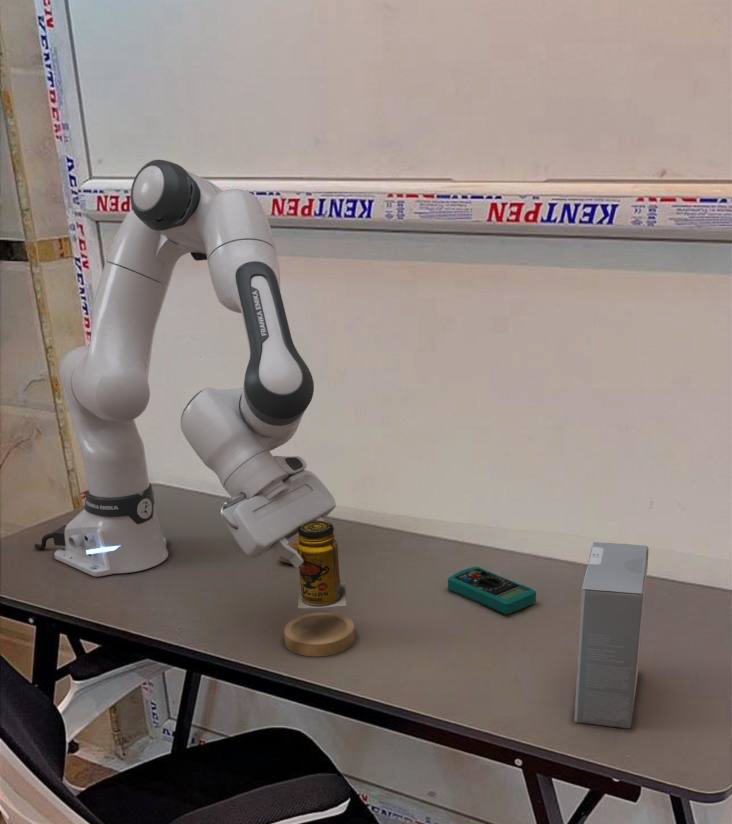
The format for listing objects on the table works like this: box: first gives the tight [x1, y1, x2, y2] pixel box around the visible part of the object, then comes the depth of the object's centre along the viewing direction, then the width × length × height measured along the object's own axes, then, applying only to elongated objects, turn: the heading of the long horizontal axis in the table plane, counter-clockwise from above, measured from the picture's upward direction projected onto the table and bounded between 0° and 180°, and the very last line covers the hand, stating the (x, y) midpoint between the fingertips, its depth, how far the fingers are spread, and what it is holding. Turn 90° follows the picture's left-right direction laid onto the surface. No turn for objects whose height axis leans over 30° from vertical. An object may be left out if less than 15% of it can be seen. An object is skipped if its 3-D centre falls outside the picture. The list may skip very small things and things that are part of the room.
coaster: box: [283, 611, 356, 658], centre depth 152 cm, size 11×11×2 cm
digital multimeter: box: [447, 566, 537, 616], centre depth 164 cm, size 7×15×3 cm, turn 39°
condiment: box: [297, 520, 347, 609], centre depth 147 cm, size 7×8×12 cm
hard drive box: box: [573, 541, 650, 729], centre depth 130 cm, size 16×8×20 cm, turn 163°
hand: (316, 555), depth 146 cm, fingers closed on condiment, 6 cm apart
